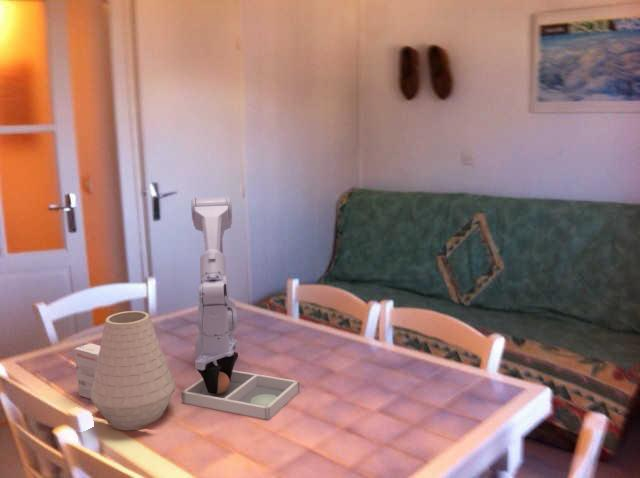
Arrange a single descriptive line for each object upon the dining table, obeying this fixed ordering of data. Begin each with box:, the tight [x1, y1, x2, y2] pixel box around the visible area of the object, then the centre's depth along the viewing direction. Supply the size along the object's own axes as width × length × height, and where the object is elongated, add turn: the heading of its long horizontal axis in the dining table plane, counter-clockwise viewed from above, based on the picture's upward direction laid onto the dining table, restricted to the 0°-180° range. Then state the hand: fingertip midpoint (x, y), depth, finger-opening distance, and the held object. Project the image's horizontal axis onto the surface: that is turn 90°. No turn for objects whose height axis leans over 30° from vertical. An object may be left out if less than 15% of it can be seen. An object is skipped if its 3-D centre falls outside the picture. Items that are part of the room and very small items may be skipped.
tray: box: [181, 369, 300, 421], centre depth 148 cm, size 22×15×4 cm
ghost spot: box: [250, 394, 277, 406], centre depth 146 cm, size 6×6×1 cm
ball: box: [216, 372, 230, 394], centre depth 150 cm, size 5×5×5 cm
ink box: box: [73, 342, 100, 400], centre depth 152 cm, size 9×5×12 cm, turn 58°
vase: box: [90, 310, 176, 432], centre depth 139 cm, size 17×17×23 cm
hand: (219, 387), depth 150 cm, fingers closed on ball, 5 cm apart
